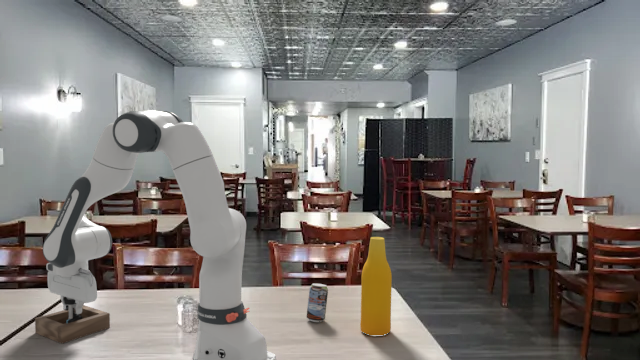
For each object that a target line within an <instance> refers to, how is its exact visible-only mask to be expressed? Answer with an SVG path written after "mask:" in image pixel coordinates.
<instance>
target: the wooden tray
mask: <svg viewBox="0 0 640 360" xmlns="http://www.w3.org/2000/svg"><path fill="white" fill-rule="evenodd" d="M68 315H69V310H68V311H66V310H60V311H57V312H53V313H49V314H45V315H41V316H39V317H35V318H34V325H35V326H34V327H35V328H34V329H35V330H34V331H35V334H37V335H39V336H42V337H45V338H46V339H49V340H51V341H53V342H54V341H55V342H58V344H59V343H60V344H65V343H67V342H71V341H74V340H77V339H80V338H83V337H86V336H89V335H92V334H95V333H98V332H101V331H104V330H108V329H110V328H111V324H110V323H111V322H110V321H111V318H110V316H111V314H110V312H107V311H104V310H101V309H97V308H94V307H90V306H88V305H83V307H82V313H81V314H80V316H82V319H81V320H78V321H74V322H71V323H68V324H66V321H67V320H68Z"/></svg>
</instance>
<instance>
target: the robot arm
mask: <svg viewBox="0 0 640 360" xmlns="http://www.w3.org/2000/svg"><path fill="white" fill-rule="evenodd" d="M154 152H155V153H156V152H162V153H163V154H165V156H166V157H167V160H168V162H169V164H170V167H171V170H172V172H173V174H174V177H175V180H176V182H177V185H178V188H179V189H180V192H181V195H182V197H183V202H184V204H185V210H186V215H187V219H188V225H189V231H190V236H189V240H190V241H189V242H190V245H191V247H192V249H193V250H194V251H195V252H196V253H197V255H199V256H201V257H202V263H201V268H200V271H199V277H198V279H199V280H198V281H199V285H198V288H199V290H198V292H199V293H198V299H199V301H198V304H197V309H196V311H197V312H196V313H197V319H198V327H197V332H196V341H195V347H194V352H193V355H192V360H275V359H277V358H276V357H277V356H276V354H275V353H273V352H271V351H268V350H267V349H268V347H267V340H266V337H265V335H264V334H263V333H262V332H260V330H259V329H258V328H257V326H255V325H254V324H253V323H252V322H251V320H249V318H248V316H247V315H248V314H247V313H249V312H250V310H249V309H250V307H247V308H246V307H245V305H244V302H243V301H242V284H243V283H242V278H243V275H242V273H243V265H244V256H245V249H246V248H245V247H246V246H245V245H246V233H247V221H246V219H245V217H244V215H243V213H241V212H240V211H238V210H236V209H234V208H230V207H229V204H228V201H227V196H226V191H225V182H224V180H223V177H222V174H221V173H220V170H219V167H218V165H217V162H216V160H215V158H214V154H213V152H212V150H211V148H210V146H209V144H208V142H207V139H206V138H205V137H204V135H203V133H202V131H201V130H200V128H199V127H198V125H197V124H195V123H193V122H189V121H188V122H187V121H183V119H182V118H181V117H180V116H178V115H177V114H175V113H174V112H171V111H167V110H161V111H160V110H154V109H153V110H152V109H144V110H131V111H127V112H125V113H123V114H121V115H119V116H118V117H117V118H116V119H115V121H114V122H110V123H108V124H107V125H105V127H104V128H103V130H102V132H101V134H100V135H99V138H98V141H97V142H96V145H95V149H94V152H93V154H92V158H91V160H90V163H89V165H88V166H87V168H86V170H85V171H84V172H83V174H82V175H81V176H80V177H79V178H78V179H76V180H75V181H74V183H72V186H71V188H70V189H69V192H68V193H67V195H66V198H65V199H64V200H65V201H64V203H63V205H62V207H61V209H60V211H59V214H58V216H57V217H56V221H55V222H54V225H53V226H52V228H51V230H50V231H49V233H48V234H47V236H46V237H45V238H44V242H43V243H42V255H43V257H44V259H45V260H46V261H47V263H46V267H45V268H46V271H47V287H48V290H49V293H52V294H54V295H58V296H59V297H60V300H61V303H62V309H63V310H66V311H68V310H69V306H68V305H67V304H65V303H64V297H67V298H70V299H74V300H75V303H77V304H76V307H75V308H74V313H75V314H81V313H82V307H83V305H84V304H89V303H92V302H95V301H97V298H98V289H97V281H96V278H95V276H94V275H93V273H92V272H91V271H90V270H89V261H91V260H94V259H95V260H96V259H101V258H103V257H105V256H108V254H109V253H110V251H111V249H112V245H113V238H112V234H111V232H110V231H109V229H108V228H106V227H105V226H103V225H99V224H96V223H94V222H93V221H91V220H90V219H88V216H87V215H86V213H87V210H88V209H89V208H90V207H91V206H92V205H94V204H95V203H97V202H98V201H100V200H102V199H104V198H107V197H108V196H111V195H113V194H116V193H118V192H120V191H122V190H124V189H125V188H126V187H127V186H128V184H129V183H130V181H131V179H132V176H133V174H134V171H135V170H134V169H135V167H136V163H137V159H138V156H139V155H140V154H142V153H154ZM63 310H62V311H63Z"/></svg>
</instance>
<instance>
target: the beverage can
mask: <svg viewBox="0 0 640 360" xmlns="http://www.w3.org/2000/svg"><path fill="white" fill-rule="evenodd" d="M308 290H309V291H308V300H307V307H306V308H307V310H306V319H308V321H310V322H314V323H320V322H319V321H322V320H323V321H325V320H326V312H327V303H328V302H327V301H328V294H329V289H328V286H327V284H322V283H312V284H311V285H310V287H309V289H308ZM323 321H322V322H323Z"/></svg>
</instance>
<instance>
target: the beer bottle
mask: <svg viewBox="0 0 640 360" xmlns="http://www.w3.org/2000/svg"><path fill="white" fill-rule="evenodd" d="M369 238H370V240H369V246H368V255H367V259H366V260H365V263H364V265H363V267H362V271H361V279H360V280H361V287H360V288H361V290H360V291H361V292H360V322H359V323H360V325H359V326H360V327H359V328H360V331H362V332H364V333H366V334H369V335H384V334H387V333H389V332H391V329H392V328H391V327H392V326H391V325H392V323H391V322H392V321H391V320H392V319H391V317H392V284H393V283H392V279H393V277H392V276H393V275H392V271H391V270H392V269H391V267H390V264H389V262H388V260H387V255H386V241H385V237H381V236H371V237H369ZM362 332H361V333H362ZM389 334H390V333H389Z"/></svg>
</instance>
